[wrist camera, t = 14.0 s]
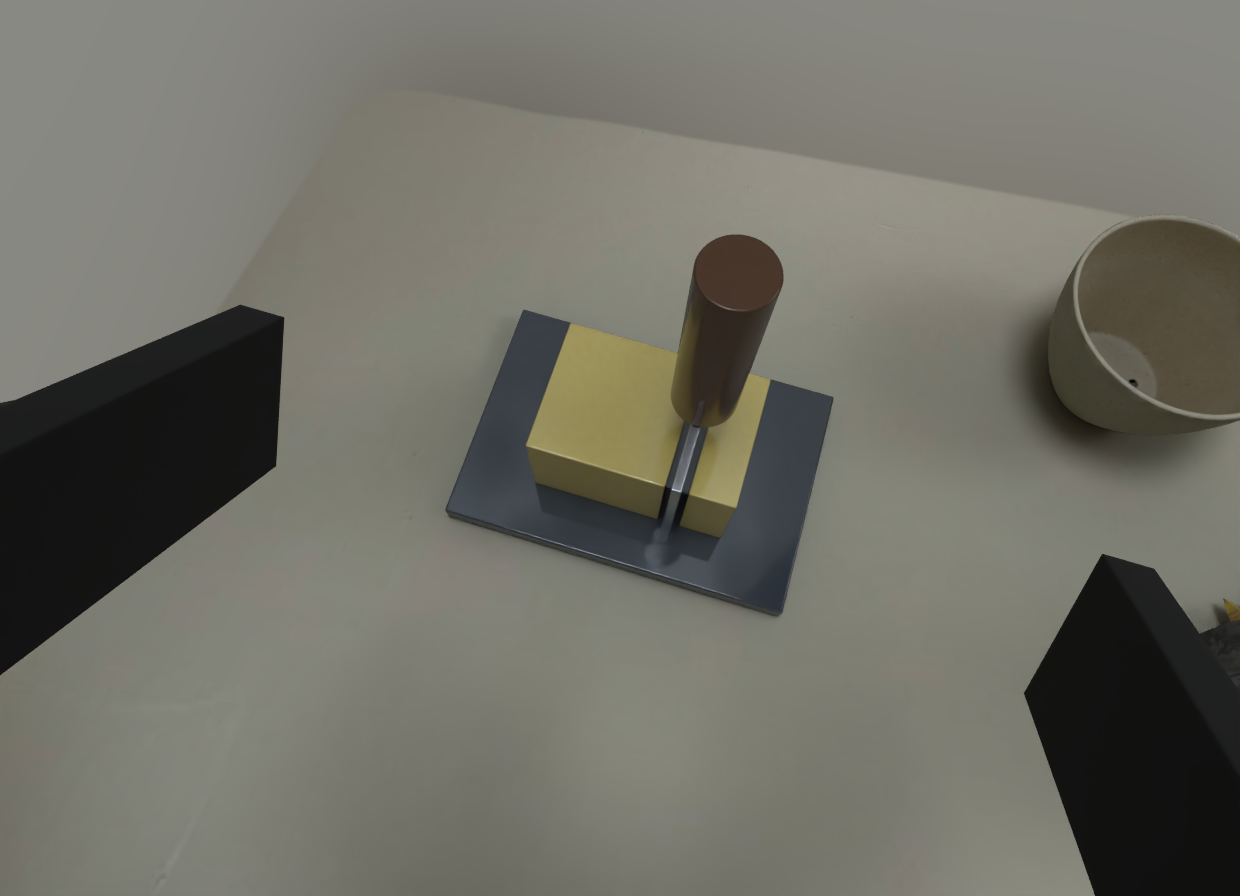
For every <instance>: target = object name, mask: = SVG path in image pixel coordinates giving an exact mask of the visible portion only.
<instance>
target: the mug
mask: <svg viewBox="0 0 1240 896" xmlns="http://www.w3.org/2000/svg"><path fill="white" fill-rule="evenodd" d="M1223 600H1224V603H1225V606H1226V609H1227V612H1228V616H1229V619H1230V622H1227V623H1225V624H1223V625H1220V626H1218V627H1215V628H1213V629H1211V630H1208V631H1206V632H1203V633H1201V634H1200V635H1201V637H1202V638H1203V640H1204V641H1205V642H1206V644H1207V645H1208V647H1209V648H1210V650H1211V651H1212V652H1213V654H1214V655H1215V657H1216V658H1217V660H1218V661H1219V663H1220V664H1221V665H1222V667H1223V668H1224V670H1225V671H1226V673H1227V674H1228V675H1229V677H1230V678H1231V680H1232V681H1233V683H1234V684H1235V685H1236V687H1237V688H1238V690H1239V691H1240V607H1238V606H1236V605H1234V604H1232V603H1231V602H1229V601H1227V600H1225V599H1224V598H1223Z"/></svg>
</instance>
